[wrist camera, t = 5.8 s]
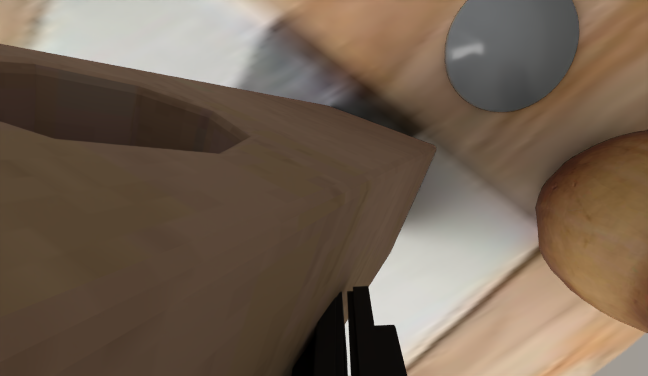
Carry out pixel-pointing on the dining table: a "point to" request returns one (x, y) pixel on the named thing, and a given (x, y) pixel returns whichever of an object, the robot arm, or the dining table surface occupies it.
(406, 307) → the dining table surface
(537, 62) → the grey dome
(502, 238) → the dining table surface
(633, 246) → the butternut squash
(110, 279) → the decorative block
